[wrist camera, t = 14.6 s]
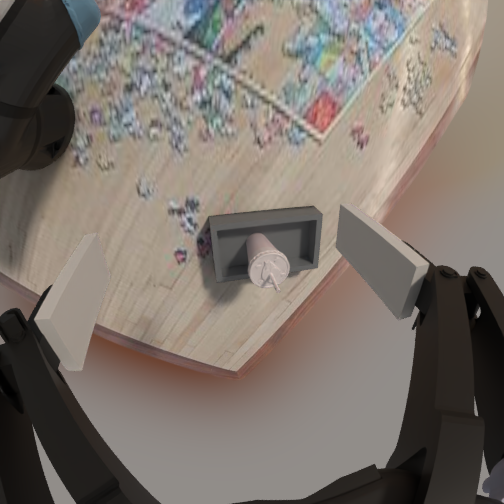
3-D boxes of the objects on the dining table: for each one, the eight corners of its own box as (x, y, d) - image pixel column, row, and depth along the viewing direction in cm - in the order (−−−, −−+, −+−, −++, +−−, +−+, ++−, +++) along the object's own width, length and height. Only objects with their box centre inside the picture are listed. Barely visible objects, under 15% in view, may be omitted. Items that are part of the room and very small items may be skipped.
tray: (208, 216, 47) (210, 225, 44) (313, 205, 50) (322, 213, 47) (214, 270, 52) (216, 282, 49) (309, 257, 55) (317, 268, 52)
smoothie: (244, 262, 52) (261, 312, 40) (234, 232, 48) (249, 278, 36) (277, 250, 52) (302, 297, 40) (269, 220, 49) (295, 262, 37)
